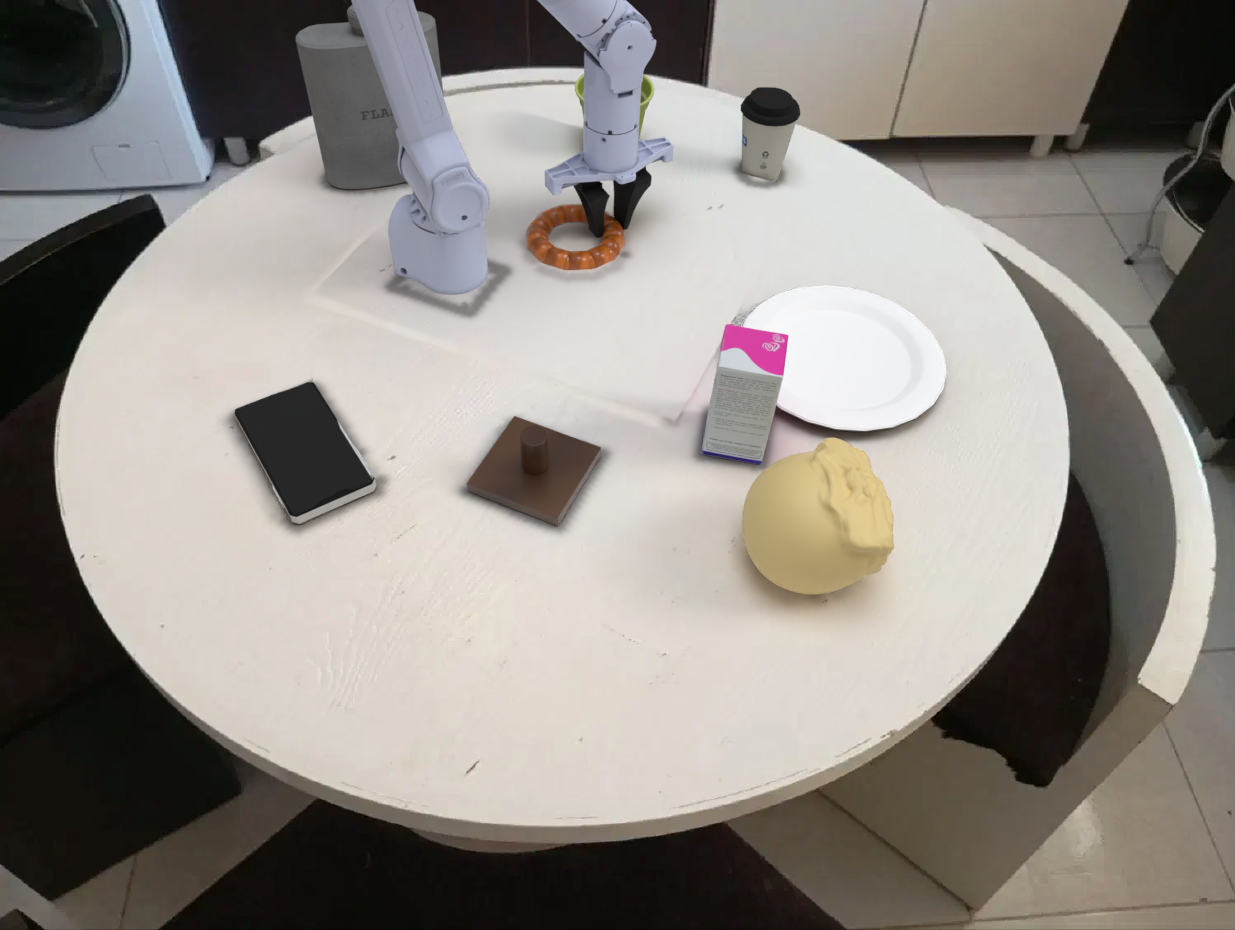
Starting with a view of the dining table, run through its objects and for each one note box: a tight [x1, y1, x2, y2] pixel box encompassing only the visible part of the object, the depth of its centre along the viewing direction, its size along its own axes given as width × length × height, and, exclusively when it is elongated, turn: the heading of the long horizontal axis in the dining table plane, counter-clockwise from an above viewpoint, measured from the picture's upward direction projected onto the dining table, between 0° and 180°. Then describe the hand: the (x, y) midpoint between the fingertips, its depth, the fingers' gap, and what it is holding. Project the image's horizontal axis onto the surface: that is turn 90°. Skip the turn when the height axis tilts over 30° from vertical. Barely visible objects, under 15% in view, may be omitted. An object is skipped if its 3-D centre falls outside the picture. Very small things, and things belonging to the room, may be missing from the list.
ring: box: [525, 203, 626, 271], centre depth 110 cm, size 11×11×2 cm
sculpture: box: [741, 437, 895, 595], centre depth 81 cm, size 12×12×11 cm
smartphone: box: [234, 380, 377, 525], centre depth 90 cm, size 8×1×15 cm
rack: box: [466, 415, 602, 527], centre depth 88 cm, size 9×9×5 cm
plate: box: [741, 284, 948, 433], centre depth 100 cm, size 21×21×2 cm
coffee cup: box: [740, 86, 801, 183], centre depth 117 cm, size 7×7×10 cm
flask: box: [295, 3, 445, 190], centre depth 111 cm, size 15×6×20 cm, turn 112°
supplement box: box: [700, 323, 788, 465], centre depth 89 cm, size 6×6×12 cm
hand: (608, 229), depth 112 cm, fingers closed on ring, 3 cm apart
